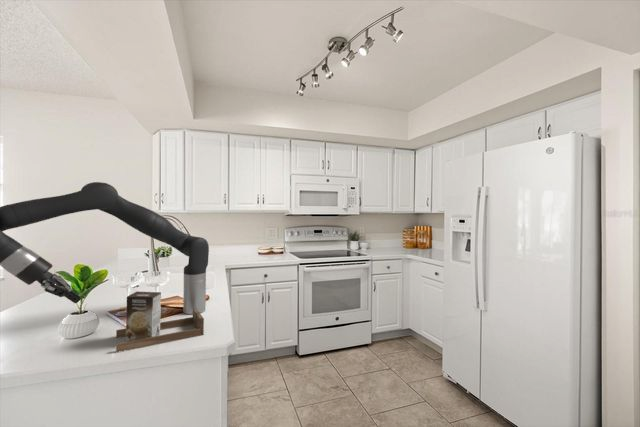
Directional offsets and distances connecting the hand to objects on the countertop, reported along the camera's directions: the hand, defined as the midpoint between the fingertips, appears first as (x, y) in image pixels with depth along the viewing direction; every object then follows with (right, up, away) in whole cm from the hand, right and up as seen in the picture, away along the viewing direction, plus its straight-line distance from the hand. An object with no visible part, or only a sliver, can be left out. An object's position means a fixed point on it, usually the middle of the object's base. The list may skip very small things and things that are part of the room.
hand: (78, 300), depth 97 cm
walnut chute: (+19, -17, +13) cm, 28 cm away
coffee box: (+15, -17, +10) cm, 25 cm away
